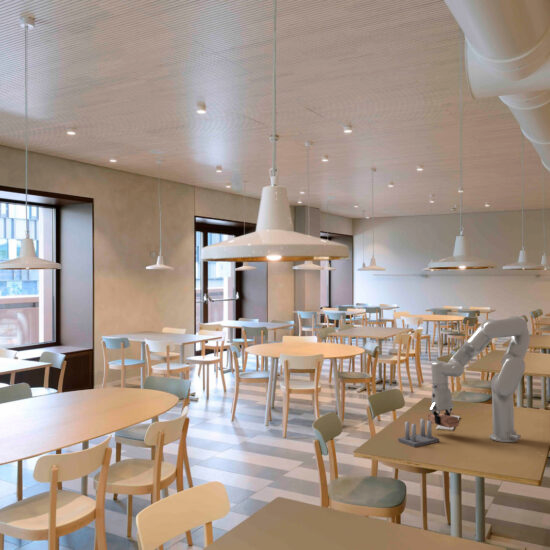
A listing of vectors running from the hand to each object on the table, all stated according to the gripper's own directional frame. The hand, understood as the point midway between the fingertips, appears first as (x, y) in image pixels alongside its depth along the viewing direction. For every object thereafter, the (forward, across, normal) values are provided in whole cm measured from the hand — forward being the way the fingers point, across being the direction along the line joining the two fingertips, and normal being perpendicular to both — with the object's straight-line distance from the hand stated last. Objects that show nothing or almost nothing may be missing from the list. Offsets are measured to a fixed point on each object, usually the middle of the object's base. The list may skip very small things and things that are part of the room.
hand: (442, 422), depth 272 cm
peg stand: (+6, -17, 0) cm, 18 cm away
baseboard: (+8, +20, +17) cm, 27 cm away
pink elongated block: (+1, 0, 0) cm, 1 cm away
